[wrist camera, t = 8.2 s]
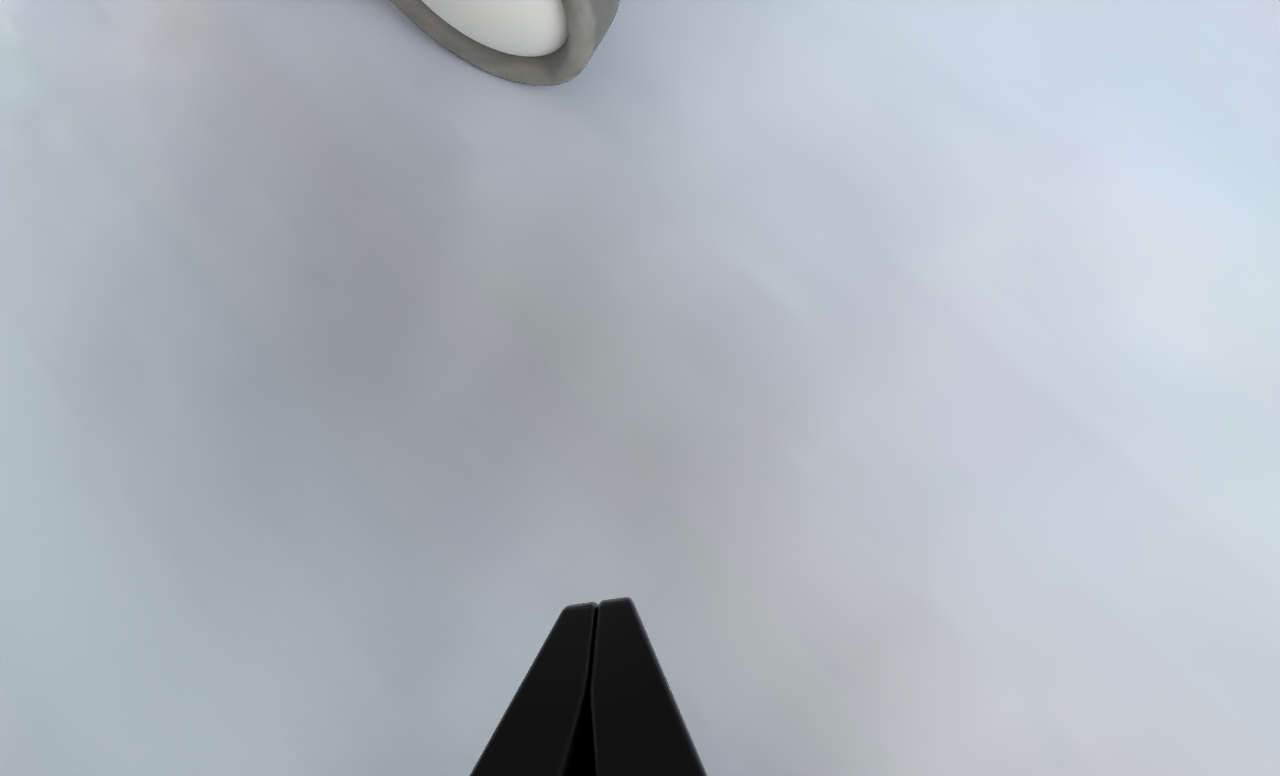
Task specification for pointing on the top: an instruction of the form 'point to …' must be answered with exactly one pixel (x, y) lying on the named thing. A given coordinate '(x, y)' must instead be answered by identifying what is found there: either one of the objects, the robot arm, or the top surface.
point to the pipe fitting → (517, 34)
